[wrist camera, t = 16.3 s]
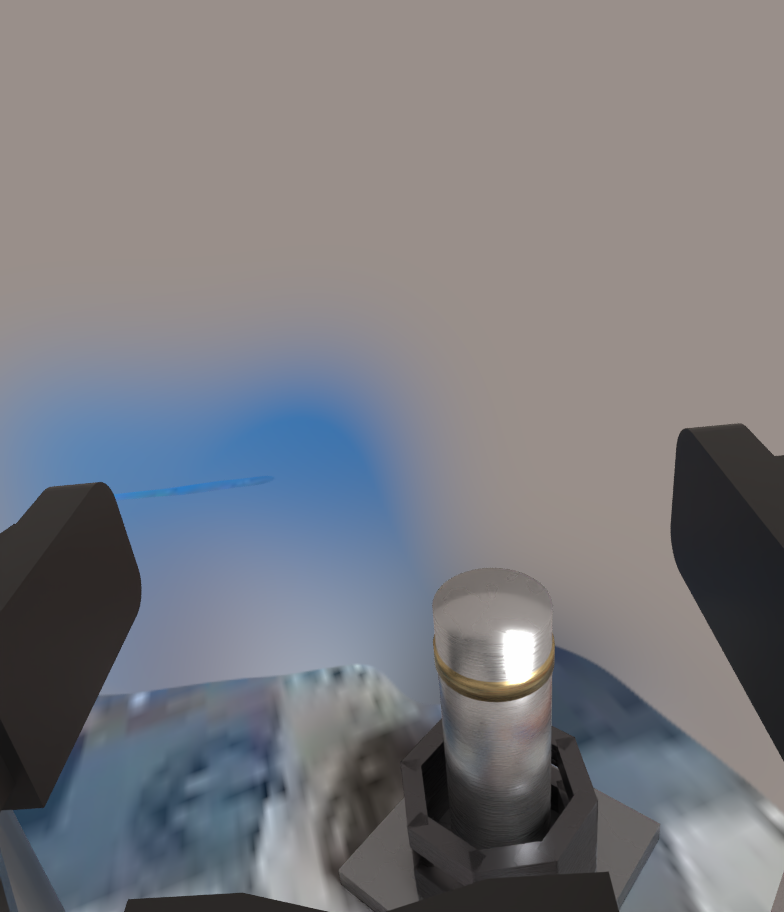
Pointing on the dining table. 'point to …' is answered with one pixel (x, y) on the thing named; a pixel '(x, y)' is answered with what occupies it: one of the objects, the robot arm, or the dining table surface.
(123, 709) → the dining table surface
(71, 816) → the dining table surface
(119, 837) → the dining table surface
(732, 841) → the dining table surface
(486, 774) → the steel tube
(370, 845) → the collar stand
